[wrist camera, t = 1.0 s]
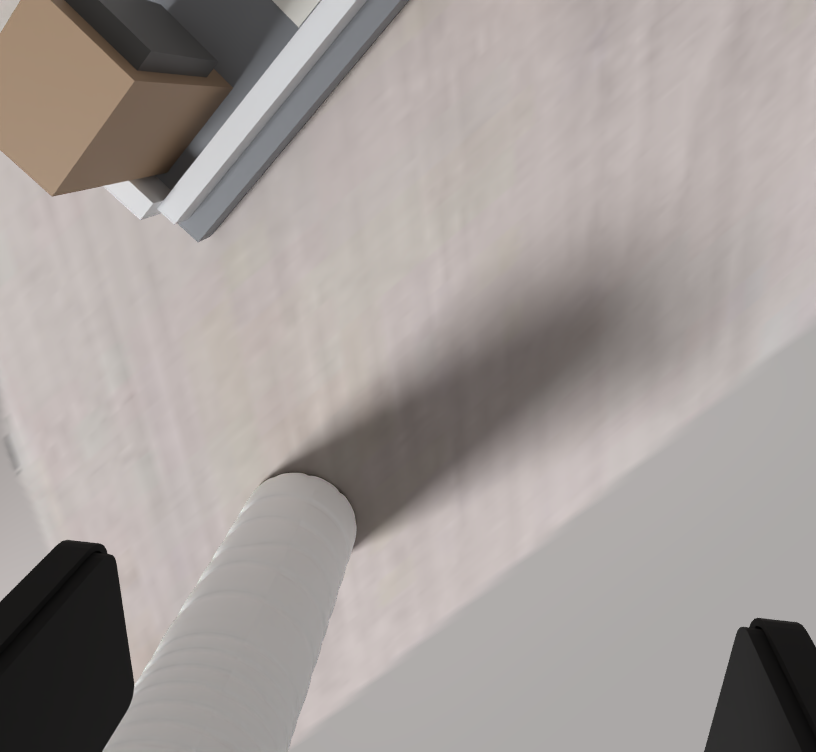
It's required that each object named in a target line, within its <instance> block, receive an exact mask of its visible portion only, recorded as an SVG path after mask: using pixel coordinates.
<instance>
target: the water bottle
mask: <svg viewBox="0 0 816 752" xmlns="http://www.w3.org/2000/svg"><path fill="white" fill-rule="evenodd" d="M356 532H357V525H356V522H355V514H354V511H353V509H352V507H351V505H350V503H349V501H348V500H347V498H346V497H345V496H344V495H343V494H341V493H339V491H338V489H337V488H336V487H335V486H333V485H332V484H331V483H329V482H327V481H325V480H324V479H321V478H319V477H316V476H308V475H306V474H304V473H285V474H281V475H278V476H276V477H274V478H270V479H268V480H266V481H264V482H263V483H262V484H260V485H259V486H258V487H257V488H256V489H255V490H254V492H253V493H252V494H251V496H250V497H249V499H248V500H247V502H246V503H245V505H244V507H243V508H242V510H241V512H240V514H239V516H238V518H237V519H236V521H235V522H234V524H233V525H232V527H231V528H230V530H229V532H228V533H227V535H226V537H225V540H224V541H223V542H222V543H221V545H220V546H219V548H218V549H217V551H216V553H215V554H214V556H213V559H212V561H211V562H210V563H209V565H208V566H207V567H206V569H205V570H204V572H203V574H202V575H201V577H200V579H199V581H198V583H197V585H196V587H195V588H194V589H193V591H192V592H191V593H190V595H189V596H188V598H187V599H186V601H185V603H184V604H183V606H182V608H181V610H180V612H179V614H178V616H177V618H176V619H175V620H174V621H173V623H172V624H171V625H170V627H169V629H168V630H167V632H166V633H165V635H164V637H163V638H162V640H161V642H160V644H159V646H158V648H157V649H156V651H155V653H154V655H153V657H152V659H151V660H150V661H149V663H148V664H147V666H146V667H145V669H144V671H143V673H142V675H141V676H140V678H139V679H138V680H137V682H136V684H135V685H134V693H133V698H132V701H131V704H130V706H129V708H128V710H127V712H126V714H125V715H124V717H123V718H122V720H121V722H120V723H119V725H118V727H117V728H116V730H115V731H114V733H113V735H112V736H111V738H110V740H109V741H108V743H107V744H106V746H105V748H104V749H103V751H102V752H288V749H289V746H290V742H291V738H292V736H293V733H294V730H295V727H296V723H297V719H298V717H299V714H300V711H301V709H302V706H303V703H304V701H305V698H306V695H307V692H308V688H309V685H310V681H311V675H312V672H313V670H314V668H315V665H316V663H317V660H318V656H319V653H320V649H321V645H322V641H323V639H324V637H325V634H326V631H327V627H328V623H329V619H330V617H331V614H332V611H333V609H334V606H335V602H336V599H337V595H338V590H339V588H340V585H341V583H342V580H343V577H344V573H345V570H346V566H347V563H348V561H349V558H350V555H351V552H352V549H353V546H354V542H355V538H356Z"/></svg>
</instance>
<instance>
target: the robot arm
mask: <svg viewBox="0 0 816 752" xmlns="http://www.w3.org/2000/svg"><path fill="white" fill-rule="evenodd" d="M133 693H134V679H133V672H132V665H131V659H130V652H129V645H128V638H127V632H126V625H125V618H124V611H123V605H122V598H121V591H120V584H119V577H118V571H117V564H116V560H115V558H114V556H113V555H110V554H107V550H106V548H105V547H104V545H102V544H99V543H90V542H81V541H72V540H65V541H62V542H61V543H59V544H58V545H57V546H56V547H55V548H54V549H53V550H52V551H51V552H50V553H49V554H48V555H47V556H46V557H45V558H44V559H43V560H42V561H41V562H40V563H39V564H38V565H37V566H36V567H35V568H34V569H33V570H32V571H31V572H30V573H29V574H28V575H27V576H26V577H25V578H24V579H23V580H22V581H21V582H20V583H19V584H18V585H17V586H16V587H15V588H14V589H13V590H12V591H11V592H10V593H9V594H8V595H7V596H6V597H5V598H4V599H3V600H2V601H1V602H0V752H102V751H103V749H104V748H105V746H106V744H107V743H108V741H109V740H110V738H111V736H112V735H113V733H114V731H115V730H116V728H117V727H118V725H119V723H120V722H121V720H122V718H123V717H124V715H125V714H126V712H127V710H128V708H129V706H130V704H131V701H132V698H133ZM704 752H816V647H815V645H814V643H813V641H812V640H811V638H810V636H809V634H808V633H807V631H806V629H805V628H804V627H803V626H802V625H801V624H799V623H797V622H788V621H780V620H771V619H762V618H756V619H754V620H753V621H752V622H751V624H750V627H749V628H747V627H740V628H739V629H738V631H737V634H736V637H735V641H734V645H733V648H732V652H731V655H730V659H729V663H728V666H727V670H726V674H725V677H724V681H723V685H722V689H721V692H720V696H719V699H718V703H717V707H716V710H715V714H714V718H713V721H712V725H711V729H710V732H709V736H708V740H707V743H706V747H705V751H704Z"/></svg>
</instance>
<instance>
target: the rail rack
mask: <svg viewBox="0 0 816 752" xmlns="http://www.w3.org/2000/svg"><path fill="white" fill-rule="evenodd" d="M408 1H409V0H20V2H19V4H18V5H17V7H16V9H15V10H14V12H13V13H12V15H11V17H10V18H9V20H8V22H7V23H6V25H5V26H4V28H3V30H2V31H1V33H0V150H1V151H2V152H3V153H4V154H5V155H6V156H7V157H9V158H10V159H11V160H12V161H13V162H14V163H15V164H16V165H17V166H19V167H20V168H21V169H22V170H23V171H24V172H25V173H26V174H28V175H29V176H30V177H31V178H32V179H33V180H34V181H35V182H36V183H38V184H39V185H40V186H41V187H42V188H43V189H44V190H45V191H46V192H48V193H49V194H50V195H51V196H57V195H62V194H67V193H71V192H76V191H81V190H86V189H91V188H96V187H101V186H104V187H105V188H106V189H107V190H108V191H109V192H110V193H111V194H112V195H113V196H114V197H116V198H117V199H118V200H119V201H120V202H121V203H122V204H123V205H124V206H125V207H126V208H128V209H129V210H130V211H131V212H132V213H133V214H134V215H135V216H136V217H137V218H138V219H140V220H142V219H145V218H148V217H151V216H154V215H157V214H160V213H162V214H163V215H164V216H165V217H167V218H168V219H169V220H170V221H171V222H172V223H173V224H174V225H175V224H177V223H178V224H179V225H180V226H181V227H182V228H183V229H184V230H185V231H186V232H187V233H188V234H190V235H191V236H192V237H193V238H194V239H195V240H196V241H197V242H200V241H202V240H204V239H206V238H208V237H210V236H211V235H212V234H213V232H214V231H215V230H216V229H217V228H218V226H219V225H220V224H221V223H222V222H223V221H224V219H225V218H226V217H227V216H228V215H229V213H230V212H231V211H232V210H233V209H234V207H235V206H236V205H237V204H238V203H239V201H240V200H241V199H242V198H243V197H244V196H245V194H246V193H247V192H248V191H249V190H250V188H251V187H252V186H253V185H254V184H255V182H256V181H257V180H258V179H259V178H260V177H261V175H262V174H263V173H264V172H265V171H266V169H267V168H268V167H269V166H270V165H271V163H272V162H273V161H274V160H275V159H276V158H277V156H278V155H279V154H280V153H281V152H282V150H283V149H284V148H285V147H286V146H287V144H288V143H289V142H290V141H291V140H292V139H293V137H294V136H295V135H296V134H297V133H298V131H299V130H300V129H301V128H302V127H303V125H304V124H305V123H306V122H307V121H308V120H309V118H310V117H311V116H312V115H313V114H314V112H315V111H316V110H317V109H318V108H319V106H320V105H321V104H322V103H323V102H324V101H325V99H326V98H327V97H328V96H329V95H330V93H331V92H332V91H333V90H334V89H335V87H336V86H337V85H338V84H339V83H340V82H341V80H342V79H343V78H344V77H345V76H346V74H347V73H348V72H349V71H350V70H351V68H352V67H353V66H354V65H355V64H356V63H357V61H358V60H359V59H360V58H361V57H362V55H363V54H364V53H365V52H366V51H367V49H368V48H369V47H370V46H371V45H372V44H373V42H374V41H375V40H376V39H377V38H378V36H379V35H380V34H381V33H382V32H383V30H384V29H385V28H386V27H387V26H388V25H389V23H390V22H391V21H392V20H393V19H394V17H395V16H396V15H397V14H398V13H399V11H400V10H401V9H402V8H403V7H404V6H405V4H406V3H407V2H408Z"/></svg>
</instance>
